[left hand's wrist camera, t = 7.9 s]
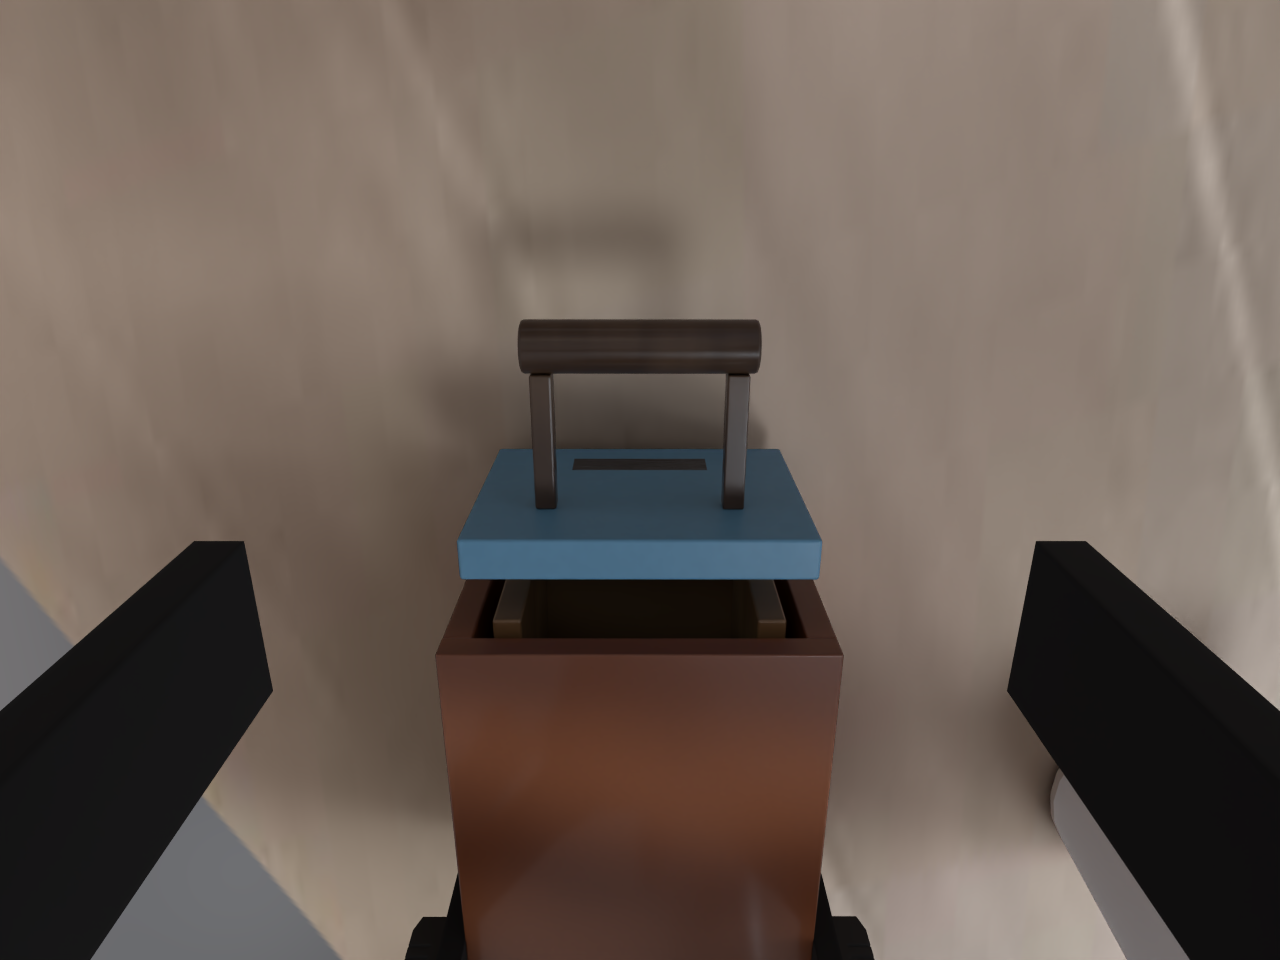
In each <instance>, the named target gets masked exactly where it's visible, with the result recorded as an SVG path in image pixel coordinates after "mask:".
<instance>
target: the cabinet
mask: <svg viewBox="0 0 1280 960" xmlns="http://www.w3.org/2000/svg"><path fill="white" fill-rule="evenodd" d="M505 580H506V579H467V580H466V582H465V585H464V587H463V589H462V592H461V594H460V597H459V599H458V602H457V604H456V607H455V609H454V612H453V614H452V617H451V619H450V621H449V624H448V626H447V629H446V631H445V634H444V636H443V639H442V640H441V643H440V645H439V648H438V650H437V652H436V655H435V657H436V666H437V676H438V685H439V695H440V704H441V714H442V723H443V733H444V742H445V752H446V761H447V771H448V780H449V790H450V799H451V809H452V818H453V828H454V837H455V847H456V856H457V866H458V876H459V885H460V895H461V904H462V914H463V923H464V933H465V941H466V950H467V960H811V958H812V949H813V940H814V931H815V922H816V912H817V903H818V893H819V884H820V874H821V865H822V856H823V846H824V837H825V827H826V818H827V808H828V799H829V789H830V780H831V770H832V761H833V751H834V742H835V732H836V723H837V713H838V704H839V694H840V685H841V676H842V666H843V657H844V655H843V653H842V650H841V648H840V645H839V643H838V640H837V638H836V636H835V633H834V631H833V628H832V626H831V623H830V621H829V618H828V616H827V613H826V611H825V608H824V606H823V603H822V601H821V598H820V596H819V593H818V591H817V589H816V586H815V584H814V581H813V579H773V580H774V583H775V586H776V589H777V593H778V596H779V599H780V602H781V605H782V609H783V612H784V615H785V618H786V634H785V638H494V633H493V619H494V615H495V612H496V609H497V606H498V603H499V600H500V596H501V593H502V590H503V587H504V584H505Z"/></svg>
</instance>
